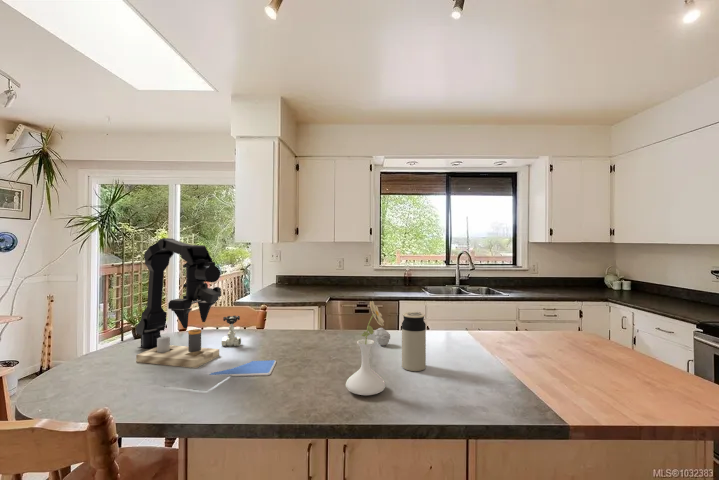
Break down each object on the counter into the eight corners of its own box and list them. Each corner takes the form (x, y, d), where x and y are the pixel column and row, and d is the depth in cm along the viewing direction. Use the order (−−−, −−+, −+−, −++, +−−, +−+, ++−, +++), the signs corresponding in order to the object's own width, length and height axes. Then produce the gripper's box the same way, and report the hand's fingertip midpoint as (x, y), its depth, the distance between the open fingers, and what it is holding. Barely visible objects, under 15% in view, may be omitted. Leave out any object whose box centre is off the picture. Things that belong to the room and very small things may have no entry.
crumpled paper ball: (379, 342, 142) (379, 325, 142) (393, 344, 137) (393, 328, 138) (371, 345, 137) (371, 328, 137) (385, 348, 133) (385, 331, 133)
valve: (236, 349, 131) (236, 319, 131) (219, 349, 131) (219, 319, 131) (242, 344, 138) (242, 315, 138) (226, 344, 138) (226, 315, 138)
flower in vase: (373, 403, 87) (373, 307, 87) (337, 393, 93) (337, 303, 93) (395, 385, 98) (395, 300, 98) (362, 377, 104) (362, 297, 104)
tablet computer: (206, 379, 104) (206, 374, 104) (220, 364, 116) (220, 360, 116) (269, 377, 105) (269, 373, 105) (276, 363, 118) (276, 359, 118)
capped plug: (185, 351, 116) (185, 331, 116) (193, 348, 120) (194, 328, 120) (195, 352, 115) (195, 332, 115) (203, 348, 119) (203, 329, 119)
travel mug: (430, 367, 113) (430, 313, 113) (417, 374, 107) (417, 317, 107) (410, 361, 118) (410, 310, 118) (397, 367, 112) (397, 314, 112)
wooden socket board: (136, 363, 116) (136, 354, 116) (163, 352, 127) (163, 344, 127) (196, 369, 110) (196, 360, 110) (219, 357, 122) (219, 349, 122)
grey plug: (154, 358, 119) (154, 339, 119) (163, 355, 123) (163, 336, 123) (163, 359, 118) (163, 340, 118) (172, 355, 122) (172, 336, 122)
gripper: (196, 284, 107) (196, 333, 107) (231, 278, 125) (231, 320, 125) (167, 283, 109) (166, 331, 109) (205, 277, 128) (205, 318, 127)
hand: (194, 325), depth 118 cm, fingers open, 9 cm apart
